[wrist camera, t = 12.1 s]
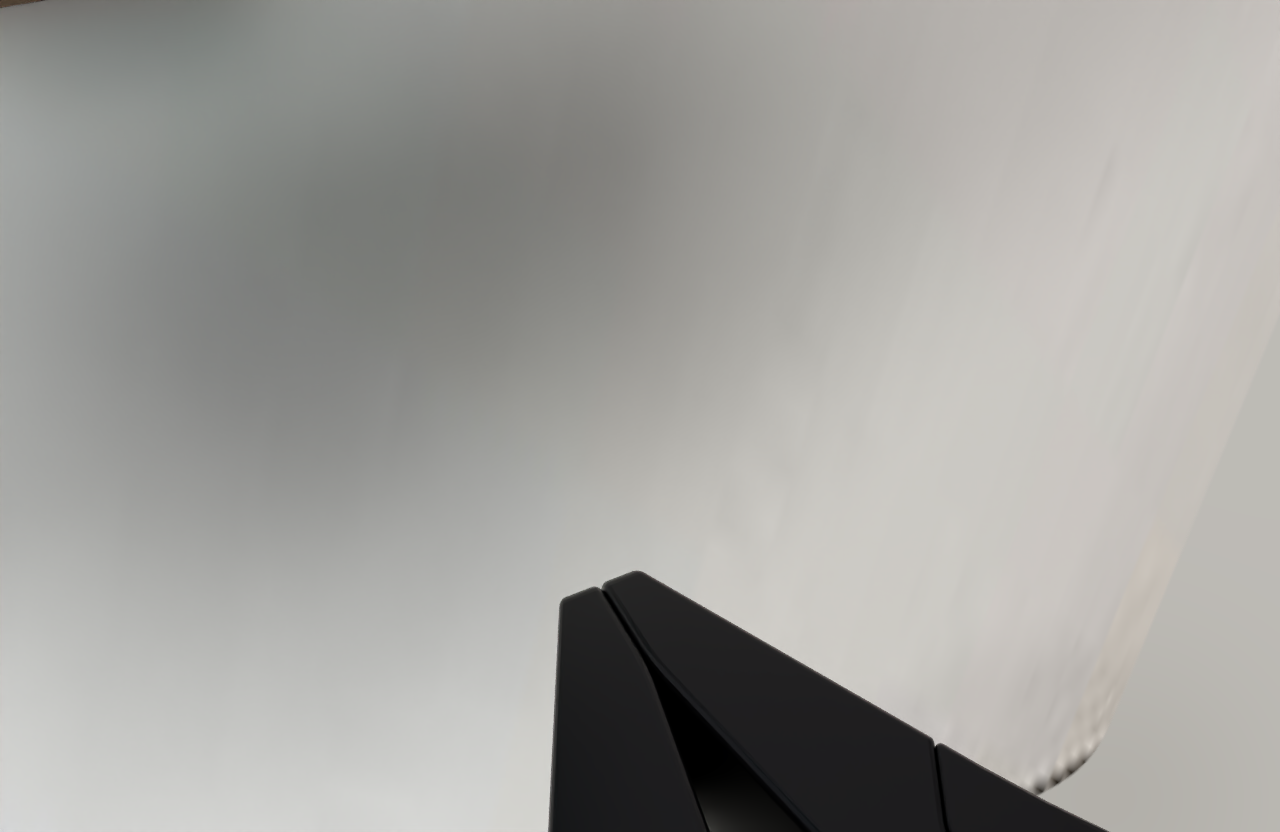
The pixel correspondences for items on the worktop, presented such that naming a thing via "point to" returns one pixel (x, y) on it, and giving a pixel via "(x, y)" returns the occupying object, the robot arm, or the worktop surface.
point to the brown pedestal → (15, 2)
